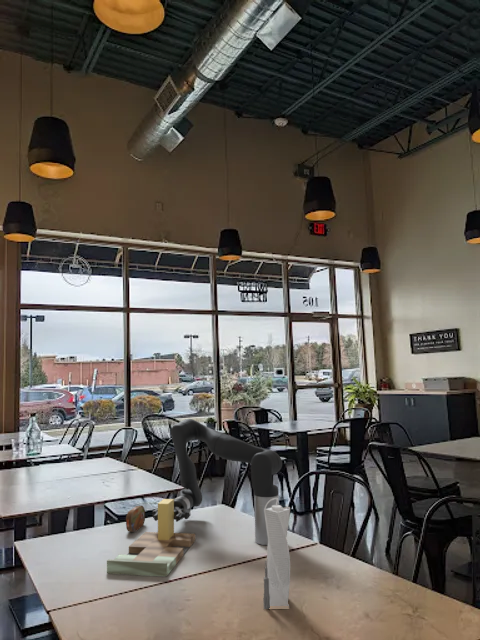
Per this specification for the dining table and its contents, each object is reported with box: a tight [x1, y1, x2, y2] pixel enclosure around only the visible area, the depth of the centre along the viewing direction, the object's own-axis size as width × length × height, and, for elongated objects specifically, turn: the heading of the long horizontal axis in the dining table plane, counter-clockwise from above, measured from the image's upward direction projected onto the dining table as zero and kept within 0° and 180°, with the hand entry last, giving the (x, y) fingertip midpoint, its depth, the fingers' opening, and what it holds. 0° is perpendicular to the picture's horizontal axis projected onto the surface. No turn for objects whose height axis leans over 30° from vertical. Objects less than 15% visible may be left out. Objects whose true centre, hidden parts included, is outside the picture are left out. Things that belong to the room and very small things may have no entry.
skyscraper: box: [262, 497, 291, 610], centre depth 146 cm, size 8×8×28 cm
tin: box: [125, 505, 146, 533], centre depth 216 cm, size 15×3×8 cm, turn 168°
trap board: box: [106, 531, 196, 578], centre depth 184 cm, size 35×20×4 cm, turn 170°
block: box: [157, 498, 175, 540], centre depth 197 cm, size 7×4×13 cm, turn 170°
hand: (165, 518), depth 198 cm, fingers open, 8 cm apart
